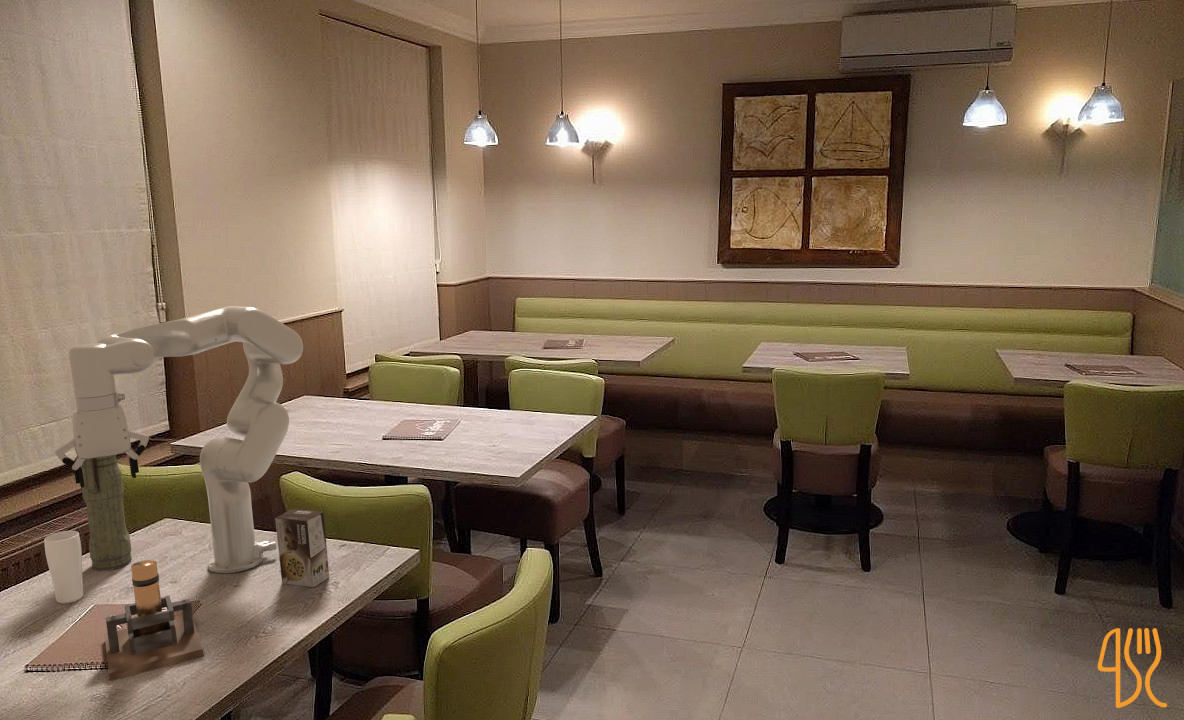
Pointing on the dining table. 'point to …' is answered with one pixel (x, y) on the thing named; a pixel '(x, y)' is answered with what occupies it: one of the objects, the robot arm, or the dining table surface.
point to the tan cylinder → (147, 593)
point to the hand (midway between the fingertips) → (108, 481)
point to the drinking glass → (65, 565)
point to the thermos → (105, 513)
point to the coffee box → (302, 547)
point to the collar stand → (151, 639)
